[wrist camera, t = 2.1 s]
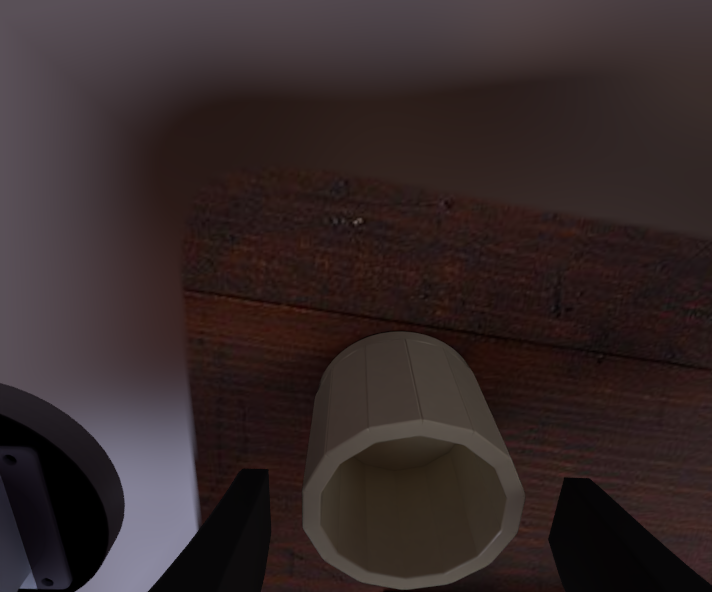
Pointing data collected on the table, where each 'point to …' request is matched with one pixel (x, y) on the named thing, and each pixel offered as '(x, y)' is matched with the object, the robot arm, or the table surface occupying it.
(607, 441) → the table surface
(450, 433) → the ramekin
